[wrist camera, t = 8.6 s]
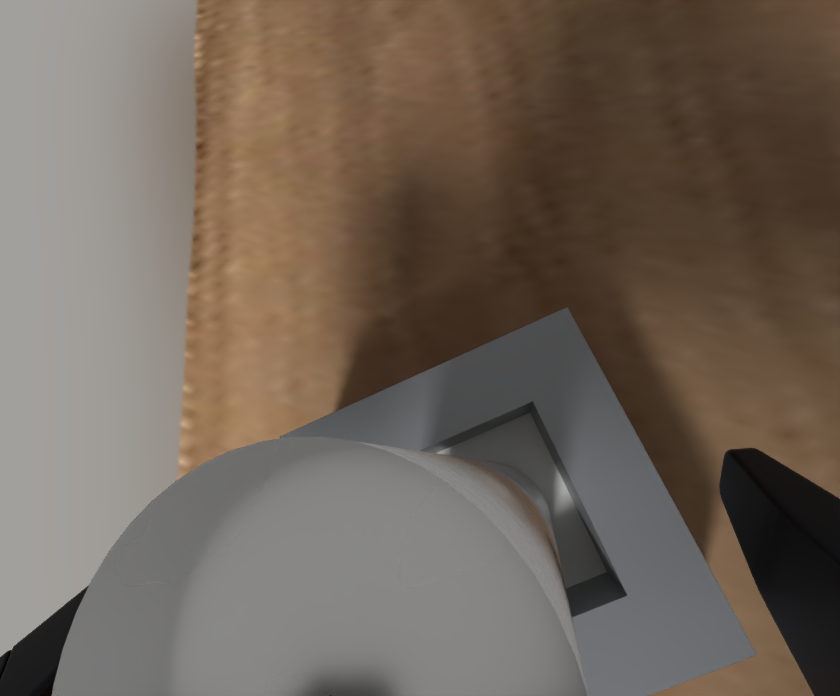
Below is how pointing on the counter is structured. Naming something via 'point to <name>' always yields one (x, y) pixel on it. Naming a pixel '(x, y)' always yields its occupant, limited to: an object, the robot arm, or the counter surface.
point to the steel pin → (330, 582)
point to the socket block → (571, 497)
